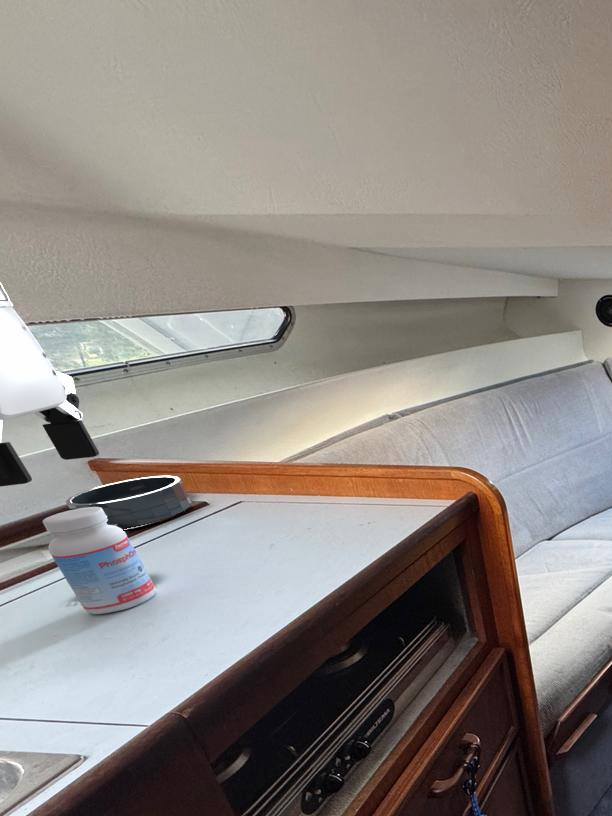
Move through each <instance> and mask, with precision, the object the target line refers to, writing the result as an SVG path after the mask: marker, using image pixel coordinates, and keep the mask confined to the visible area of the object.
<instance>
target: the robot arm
mask: <svg viewBox="0 0 612 816" xmlns="http://www.w3.org/2000/svg"><path fill="white" fill-rule="evenodd" d="M79 407H80V399H79V396H78V395H77V392H76V388H75V382H74V379H73V378H72V376H70V375H68V374H65V373H64V372H63V373H62V372H61V371H57V370H55V368H54V366H53V364H52V363H51V361H50V359H49V357H48V356H47V354H46V352H45V351H44V350H43V348H42V346H41V345H40V343H39V342H38V340H37V339H36V338H35V336H34V335H33V333H32V331H31V330H30V329H29V327H28V326H27V324H26V323H25V322H24V321H23V319H22V318H21V316H20V315H19V314H18V313H17V311H16V310H15V309H14V305H13V302H11V300H10V298H9V295H8V294H7V292H6V290H5V289H4V287H3V285H2V283H1V282H0V487H1V488H2V487H8V486H9V487H10V486H18V485H25V484H28V483H30V482H32V481H33V478H32V476H31V474H30V473H29V470H28V469H27V468H26V466H25V464H24V463H23V461H22V459H21V457H20V456H19V454H18V453H17V451H16V450H15V448H14V446H13V445H12V443H11V442H10V441H5V442H2V436H3V435H2V434H3V422H4V421H3V420H11V419H15V418H20V417H23V416H27V415H30V414H34V415H36V416H38V417H39V418H41V419H42V420H44V422H46V423H43V424H42V427H43V429H44V431H45V433H46V434H47V436H48V438H49V439H50V442H51V443H52V445H53V446H54V448H55V450H56V451H57V454H58V455H59V457H60V459H62V460H65V461H68V460H78V459H86V458H94V457H97V456H99V455H100V451H99V450H98V447H97V446H96V445H95V442H94V441H93V439H92V437H91V435H90V433H89V432H88V430H87V428H86V426H85V424H84V422H83V419H84V414H83V412H82V411H81V410H79Z"/></svg>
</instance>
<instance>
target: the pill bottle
mask: <svg viewBox="0 0 612 816" xmlns="http://www.w3.org/2000/svg"><path fill="white" fill-rule="evenodd" d="M107 521H108V519H107V516H106V514H105V513H104V511H103V509H102V508H101V507H87V508H80V509H74V510H70V509H69V510H66V511H62V512H59V513H56V514H53V515H50V516H48V517H45V518H44V519H43V520H42V524H43V525H44V527H45V529H46V531H47V532H48V533H49V534H50V535H52V536H54V538H53V539H52V540H51V541H50V542H49V544H48V547H47V548H48V552H49V553H50V556H51V557H52V559H53V561H54V562H55V564H56V566H57V567H58V569H59V570H60V572H61V573H62V575H63V577H64V579H65V580H66V582H67V584H68V585H69V587H70V588H71V590H72V592H73V594H74V595H75V596H76V599H77V600H78V602H79V603H80V605H81V606H82V608H83V610H84V611H85V612H86V613H88V614H92V615H102V614H110V613H115V612H121V611H125V610H127V609H131V608H134V607H136V606H138V605H140V604H143V603H144V602H146V601H148V600H150V599H152V597H153V596H154V595H155V594H156V592H157V589H156V587H155V585H154V582H153V580H152V579H151V576H150V575H149V574H148V572H147V569H146V568H145V565H144V564H143V563H142V560H141V559H140V557H139V555H138V553H137V551H136V549H135V547H134V546H133V544H132V541H130V538H129V537H128V535H127V533H126V531H123V530H122V529H121V528H119V527H117V526H116V525H107V523H106V522H107Z"/></svg>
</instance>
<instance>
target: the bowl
mask: <svg viewBox="0 0 612 816" xmlns="http://www.w3.org/2000/svg"><path fill="white" fill-rule="evenodd" d="M189 495H190V494H189V493H188V491H187V489H186V488H185V485H184V483H183V481H182V478H180V477H178V476H174V475H155V476H147V477H140V478H133V479H126V480H122V481H117V482H113V483H108V484H105V485H101V486H97V487H94V488H90V489H87V490H84V491H81V492H78V493H76V494H74V495H72V496H70V497H68V498H67V499H66V500H65V502H64V503H65V504H66V506H67V508H68V509H69V511H70V510H74V509H80V508H87V507H101V508H102V509H103V511H104V513H105V514H106V516H107V519H108V521H107V522H106V523H107V525H113V526H117V527H119V528H121V529H122V530H124V529H127V528H131V527H136V526H141V525H145V524H149V523H152V522H156V521H159V520H162V519H165V518H168V517H171V516H174V515H176V514H178V513H181V512H183V511H184V512H186V510H188V509H189V508H190V507H191V506H192V504H193V502H192V500H191V497H190V496H189ZM184 512H183V513H184Z"/></svg>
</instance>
